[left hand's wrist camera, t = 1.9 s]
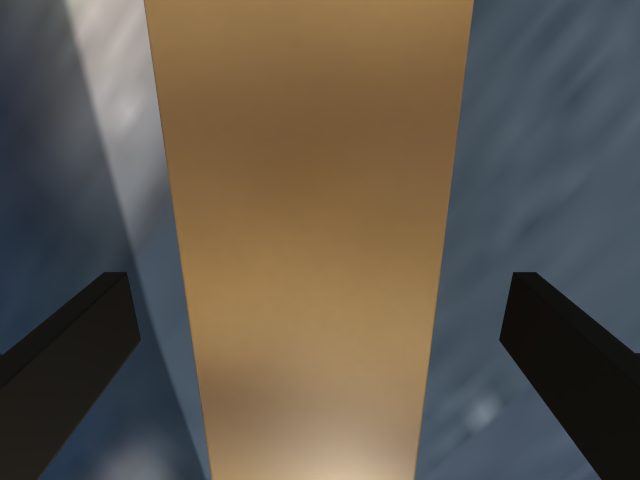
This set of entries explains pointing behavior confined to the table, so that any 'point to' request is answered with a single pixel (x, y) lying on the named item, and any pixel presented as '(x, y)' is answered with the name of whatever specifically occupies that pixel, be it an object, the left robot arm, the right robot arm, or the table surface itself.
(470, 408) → the table surface
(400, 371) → the beam
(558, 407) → the left robot arm
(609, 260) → the table surface
